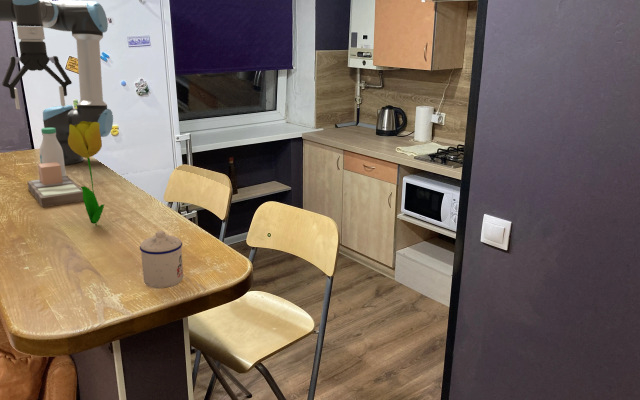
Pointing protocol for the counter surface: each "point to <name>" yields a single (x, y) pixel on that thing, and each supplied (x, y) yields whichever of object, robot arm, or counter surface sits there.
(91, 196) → the flower
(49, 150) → the milk bottle
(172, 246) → the teacup with lid
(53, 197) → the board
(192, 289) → the counter surface
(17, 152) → the counter surface
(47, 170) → the terracotta block
